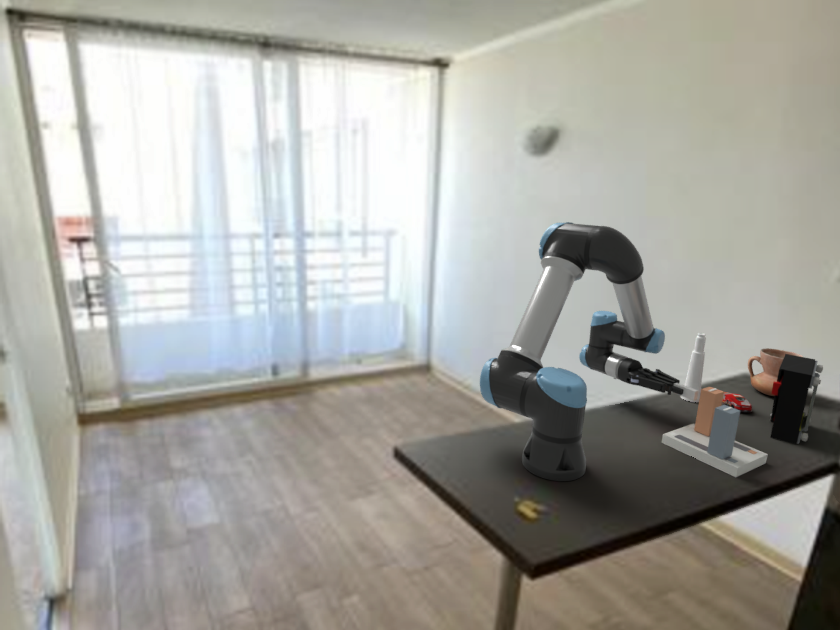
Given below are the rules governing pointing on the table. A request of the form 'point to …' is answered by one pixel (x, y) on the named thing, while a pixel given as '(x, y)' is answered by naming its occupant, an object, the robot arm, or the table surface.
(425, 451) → the table surface
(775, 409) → the electrical component
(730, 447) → the slate switch
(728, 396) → the race car
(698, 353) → the cosmetic bottle
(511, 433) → the table surface
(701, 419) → the terracotta switch
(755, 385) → the ceramic jug
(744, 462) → the switch plate
